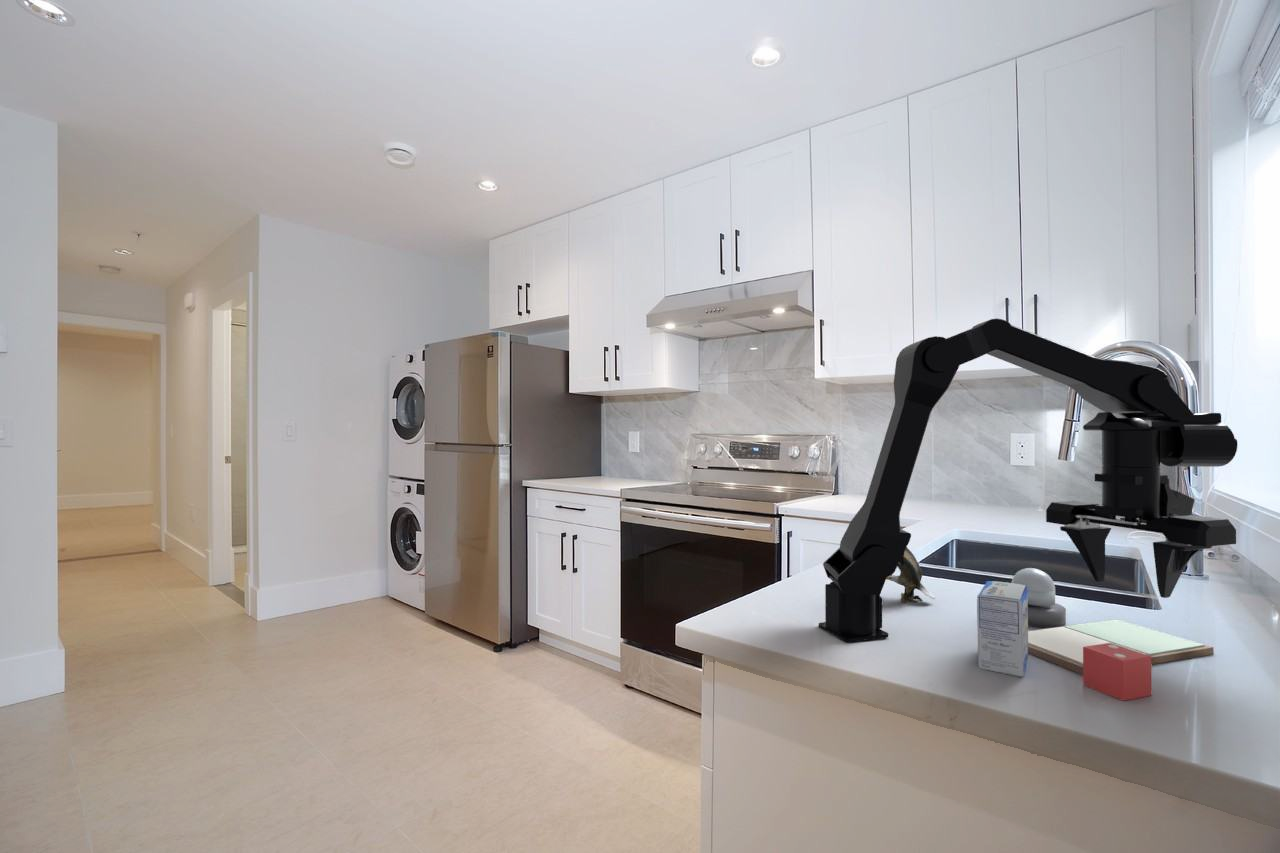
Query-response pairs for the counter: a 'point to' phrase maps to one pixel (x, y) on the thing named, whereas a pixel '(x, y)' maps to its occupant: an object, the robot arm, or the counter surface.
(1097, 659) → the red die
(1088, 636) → the game board
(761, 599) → the counter surface
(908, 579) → the eagle figurine
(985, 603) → the medicine box
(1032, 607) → the dome base
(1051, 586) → the dome
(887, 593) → the counter surface
